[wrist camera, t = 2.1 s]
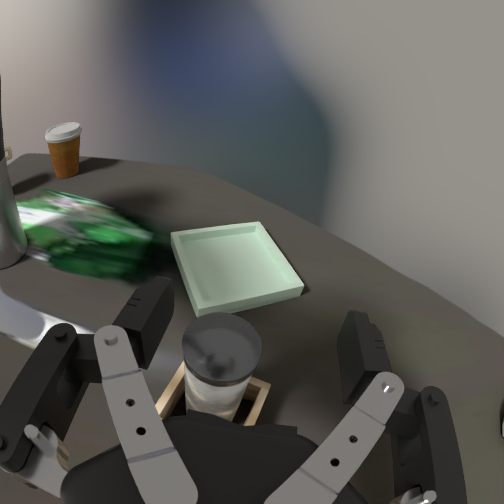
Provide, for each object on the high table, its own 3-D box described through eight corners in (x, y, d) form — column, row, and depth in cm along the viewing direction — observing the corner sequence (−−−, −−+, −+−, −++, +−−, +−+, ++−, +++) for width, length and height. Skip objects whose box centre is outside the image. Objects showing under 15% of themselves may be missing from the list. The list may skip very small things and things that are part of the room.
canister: (194, 443, 26) (196, 389, 16) (179, 401, 30) (173, 320, 19) (240, 429, 28) (275, 365, 18) (222, 390, 32) (243, 305, 21)
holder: (232, 467, 25) (237, 461, 22) (152, 430, 26) (147, 418, 23) (262, 399, 32) (271, 384, 29) (190, 367, 33) (190, 349, 30)
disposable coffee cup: (66, 162, 66) (63, 120, 58) (92, 167, 65) (89, 122, 58) (43, 178, 58) (36, 134, 51) (68, 184, 58) (62, 136, 50)
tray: (197, 320, 39) (198, 309, 37) (170, 244, 49) (170, 232, 47) (299, 296, 45) (304, 285, 44) (256, 232, 56) (259, 221, 54)
